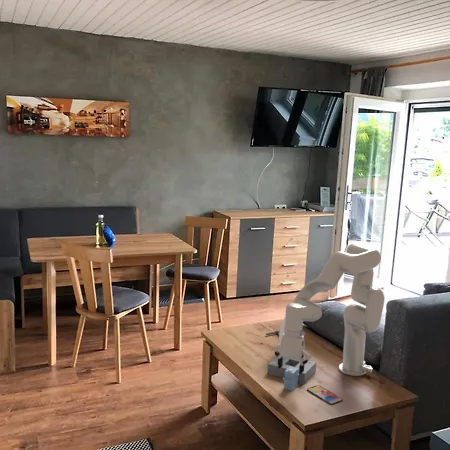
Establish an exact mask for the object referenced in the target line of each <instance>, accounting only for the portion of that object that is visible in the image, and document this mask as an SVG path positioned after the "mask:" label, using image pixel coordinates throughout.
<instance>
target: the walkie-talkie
mask: <svg viewBox="0 0 450 450" xmlns="http://www.w3.org/2000/svg"><path fill="white" fill-rule="evenodd" d="M279 332H280V328H279V329H276V330H275V331H271V332H267V333H265V335H266V336H271V335H275V334H277V335H278V336H279Z"/></svg>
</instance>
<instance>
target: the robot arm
mask: <svg viewBox="0 0 450 450" xmlns="http://www.w3.org/2000/svg"><path fill="white" fill-rule="evenodd" d="M381 259H382V255H381V253H380V251H379V250H378V249H376V248H372V247H369V246H365V245H362V244H358V243H352V244H349V245H348V246H347V248H346V251H341V250H338V251H335V252H333V253H332V254H331V255H330V258H329V259H328V260H327V262H326V264H325V265H324V267H323V269H321V272H320V273H319V275H318V276H317V277H316V278H314V279H313V280H311V281H309V282H308V283H307V284H305V285H304V286H302V288H300V290H299V291H298V293H297V294H296V296H295V298H294V300H293V302H290V303H287V305H285V316H284V318H285V329H284V333H283V335H282V339H281V344H280V345H275V346H274V347H272V349H273V352H274V355H275V358H276V357H277V359H278V368H281V367H282V366H283V357H287V358H290V359H294V360H298V361H299V363H300V366H299V374H301V373H302V372H304V364H306V363H307V362H308V361H309V360H310V361H311V359H312V356H311V355H310V354H309V353H308V352H306V349H305V348H306V347H305V338H304V337H305V335H306V332H305V331H304V329H303V325H304V324H303V323H304V322H315V321H318V320H319V319H320V318H322V315H323V310H322V308H321V306H319V305H318V304H316V303H314V302H312V301H311V299H312V297H314V296H315V295H316V294H318V293H321V292H326V291H330V290H333V289H335V288H336V286H337V285H338V283H339V281H340V280H341V279H342V277H343V275H344V274H347V275H352V276H353V279H352V284H351V291H350V297H351V300H352V301H354V302H356V303H358V304H359V305H358V304H356V303H355V304H354V303H351V304H349V305H347V306H345V308H344V311H343V322H344V324H343V325H344V337H343V351H342V363H340V364H339V365H338V370H339V371H340V372H341V373H342V374H345V375H348V376H351V377H359V376H364V375H365V374H367V372H369V373H373V370H374V369H373V367H372V365H367V364H366V361H365V351H366V337H367V336H366V332H367V333H374V332H376V331H377V330H378V329H379V326H380V324H381V322H382V321H381V320H382V317H383V316H382V315H383V310H384V307H385V294H384V292H383V290H382V289H381V288H379V287H377V286H374V285H373V283H374V282H373V281H374V268H377V266H378V265H379V264H380V263H381ZM361 305H362V306H361ZM364 306H365V307H364ZM278 350H279V351H278ZM282 356H283V357H282ZM304 357H306V358H304ZM304 359H306V360H304Z"/></svg>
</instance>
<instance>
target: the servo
mask: <svg viewBox="0 0 450 450" xmlns="http://www.w3.org/2000/svg"><path fill="white" fill-rule="evenodd" d="M299 375H300V374H299V373H298V368H294V367H291V366H290V367H289V368H288V369H287V370H285V377H284V378H282V381H283V388H284V389H285V390H289V391H292V392H293V391H294V390H295V389H296V388H297V387H298V385H299V384H298V383H299V382H298V376H299Z"/></svg>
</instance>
